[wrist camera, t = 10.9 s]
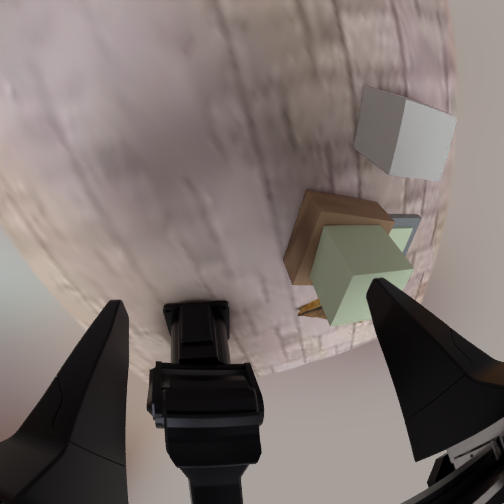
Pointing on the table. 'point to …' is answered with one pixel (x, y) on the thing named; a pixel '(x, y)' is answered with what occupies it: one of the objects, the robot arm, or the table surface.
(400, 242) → the card
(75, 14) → the table surface
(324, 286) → the sage cube
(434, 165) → the grey cube
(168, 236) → the table surface
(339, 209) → the walnut block
